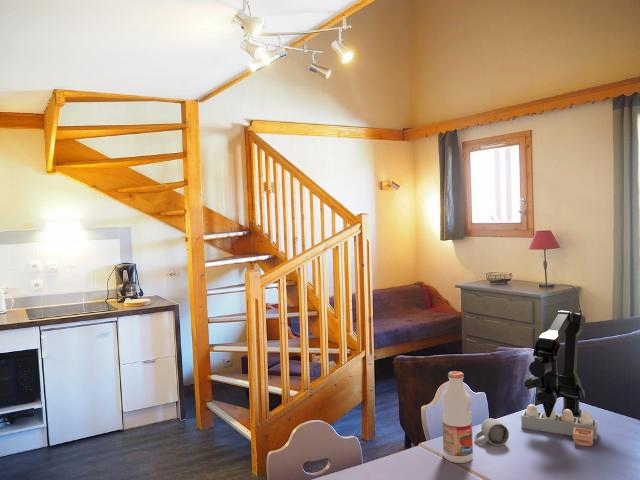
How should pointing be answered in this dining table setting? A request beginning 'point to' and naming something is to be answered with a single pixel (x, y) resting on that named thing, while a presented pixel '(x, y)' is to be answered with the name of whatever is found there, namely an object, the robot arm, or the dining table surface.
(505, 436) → the ceramic mug
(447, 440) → the fruit juice
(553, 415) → the egg
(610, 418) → the dining table surface
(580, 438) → the egg cup
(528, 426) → the egg carton
